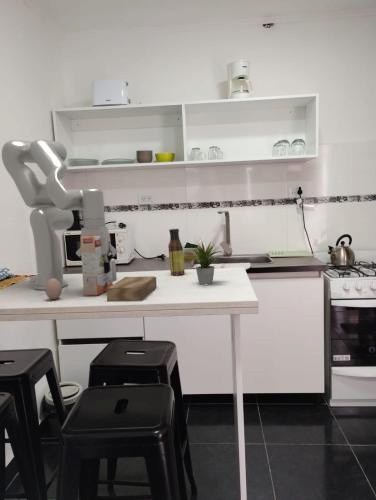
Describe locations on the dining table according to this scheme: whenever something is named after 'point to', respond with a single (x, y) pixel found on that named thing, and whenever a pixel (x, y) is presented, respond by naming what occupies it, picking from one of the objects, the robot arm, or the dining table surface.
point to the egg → (53, 289)
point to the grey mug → (113, 270)
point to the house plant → (205, 264)
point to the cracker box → (94, 267)
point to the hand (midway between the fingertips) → (98, 272)
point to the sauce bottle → (176, 253)
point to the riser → (131, 289)
